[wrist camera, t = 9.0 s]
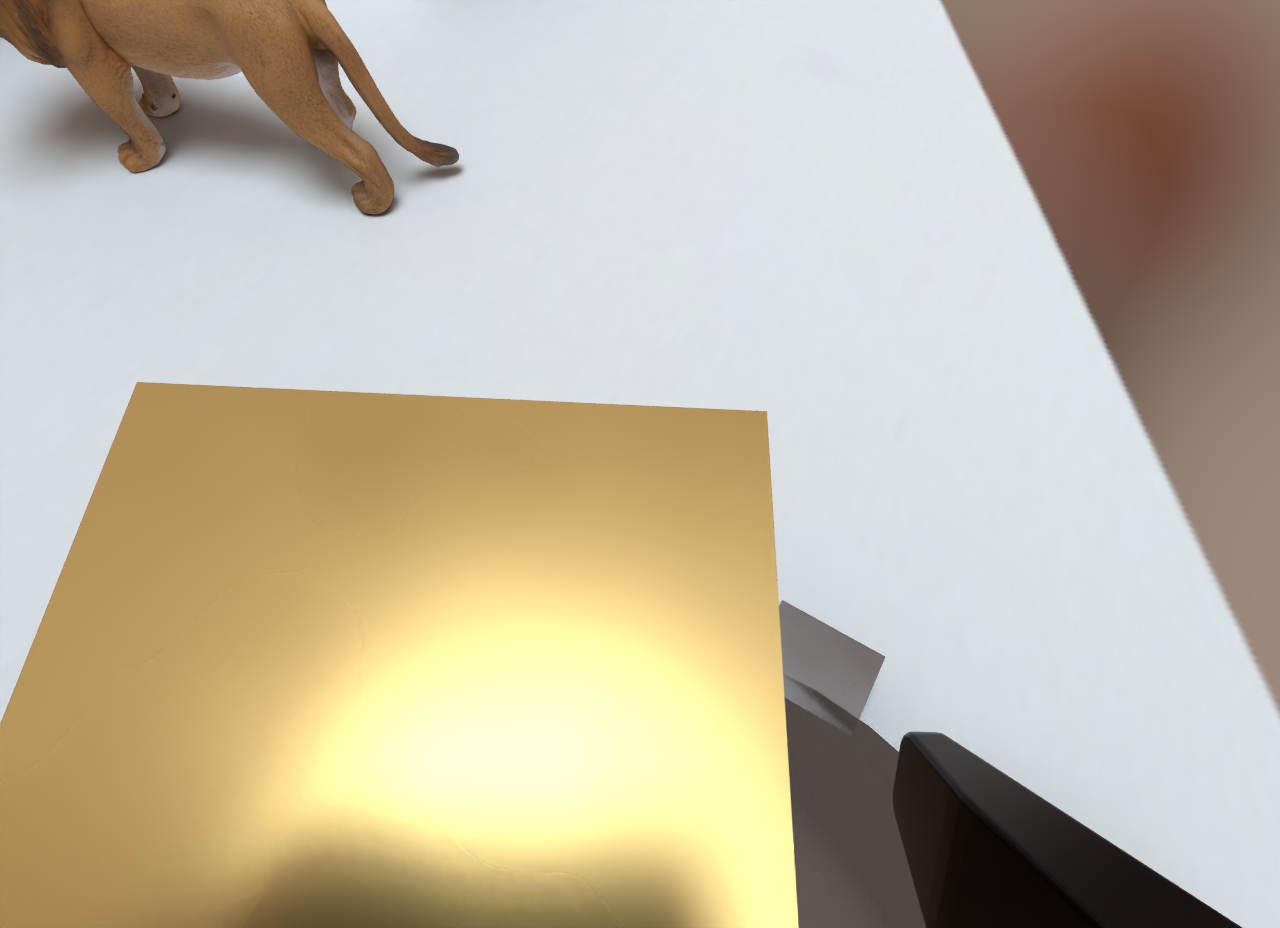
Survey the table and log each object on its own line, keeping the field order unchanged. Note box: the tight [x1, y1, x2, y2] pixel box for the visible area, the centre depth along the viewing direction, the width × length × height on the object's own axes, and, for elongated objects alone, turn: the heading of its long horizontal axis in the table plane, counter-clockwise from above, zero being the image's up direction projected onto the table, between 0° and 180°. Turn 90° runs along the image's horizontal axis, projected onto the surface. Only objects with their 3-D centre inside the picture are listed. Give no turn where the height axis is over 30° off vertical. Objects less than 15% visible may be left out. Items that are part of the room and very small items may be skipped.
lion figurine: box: [0, 0, 459, 214], centre depth 22 cm, size 15×5×9 cm, turn 87°
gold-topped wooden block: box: [0, 382, 799, 928], centre depth 10 cm, size 4×4×13 cm
